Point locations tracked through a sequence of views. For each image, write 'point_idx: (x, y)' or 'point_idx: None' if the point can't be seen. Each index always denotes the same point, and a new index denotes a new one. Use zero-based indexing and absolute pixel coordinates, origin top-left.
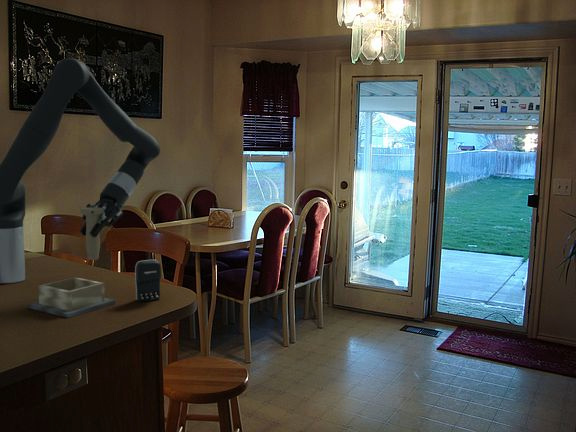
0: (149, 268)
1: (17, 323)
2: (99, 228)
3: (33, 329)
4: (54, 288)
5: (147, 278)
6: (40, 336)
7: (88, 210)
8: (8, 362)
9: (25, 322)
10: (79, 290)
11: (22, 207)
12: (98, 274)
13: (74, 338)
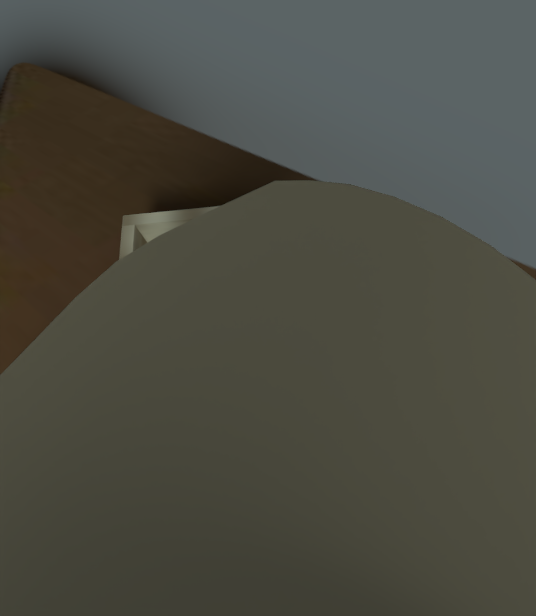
0: None
1: (197, 154)
2: None
3: (133, 156)
4: (198, 212)
5: None
6: (85, 145)
7: (131, 266)
8: (34, 69)
9: (189, 167)
10: (120, 254)
11: None
12: None
13: (14, 175)
